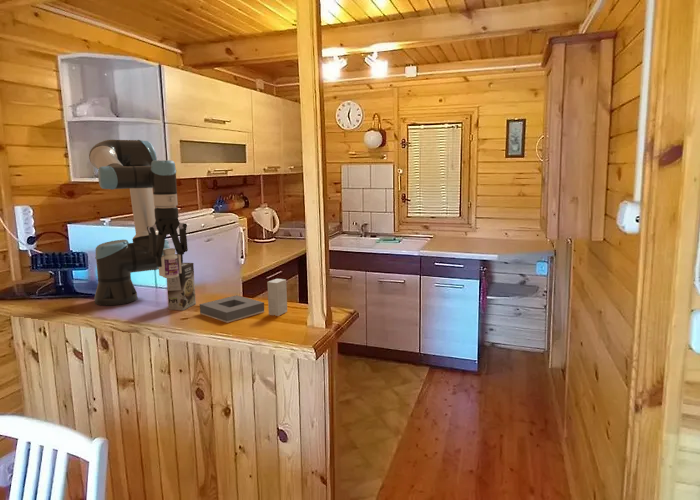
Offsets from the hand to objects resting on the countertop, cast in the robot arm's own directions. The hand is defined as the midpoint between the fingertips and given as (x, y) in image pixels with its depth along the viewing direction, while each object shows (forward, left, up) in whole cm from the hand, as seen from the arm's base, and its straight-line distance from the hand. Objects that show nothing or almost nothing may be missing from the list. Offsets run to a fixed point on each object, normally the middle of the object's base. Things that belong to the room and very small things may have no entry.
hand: (170, 274), depth 169 cm
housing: (+12, +16, -15) cm, 25 cm away
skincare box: (+25, +26, -15) cm, 39 cm away
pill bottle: (0, 0, -1) cm, 1 cm away
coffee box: (-9, +9, -15) cm, 20 cm away
